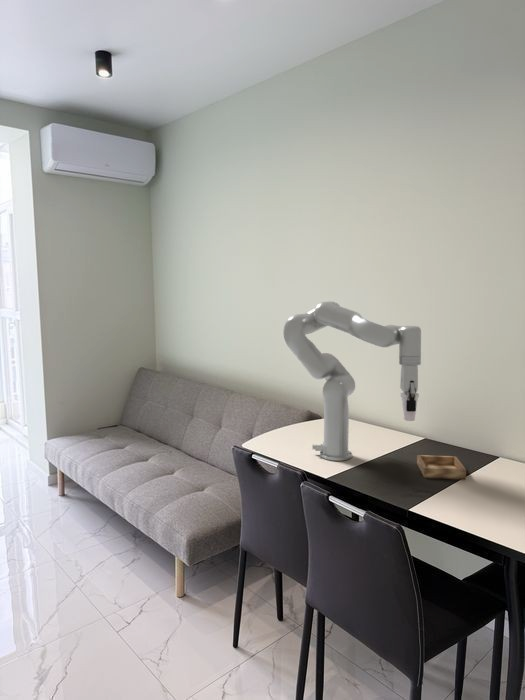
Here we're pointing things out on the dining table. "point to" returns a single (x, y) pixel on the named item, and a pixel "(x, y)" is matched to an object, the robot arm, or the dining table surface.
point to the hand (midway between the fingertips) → (409, 408)
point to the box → (441, 467)
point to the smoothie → (407, 414)
